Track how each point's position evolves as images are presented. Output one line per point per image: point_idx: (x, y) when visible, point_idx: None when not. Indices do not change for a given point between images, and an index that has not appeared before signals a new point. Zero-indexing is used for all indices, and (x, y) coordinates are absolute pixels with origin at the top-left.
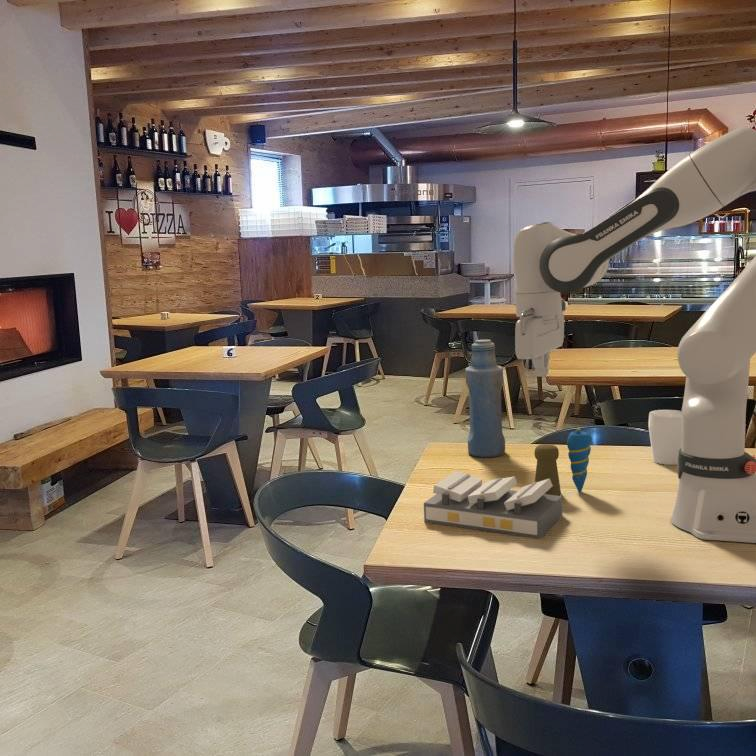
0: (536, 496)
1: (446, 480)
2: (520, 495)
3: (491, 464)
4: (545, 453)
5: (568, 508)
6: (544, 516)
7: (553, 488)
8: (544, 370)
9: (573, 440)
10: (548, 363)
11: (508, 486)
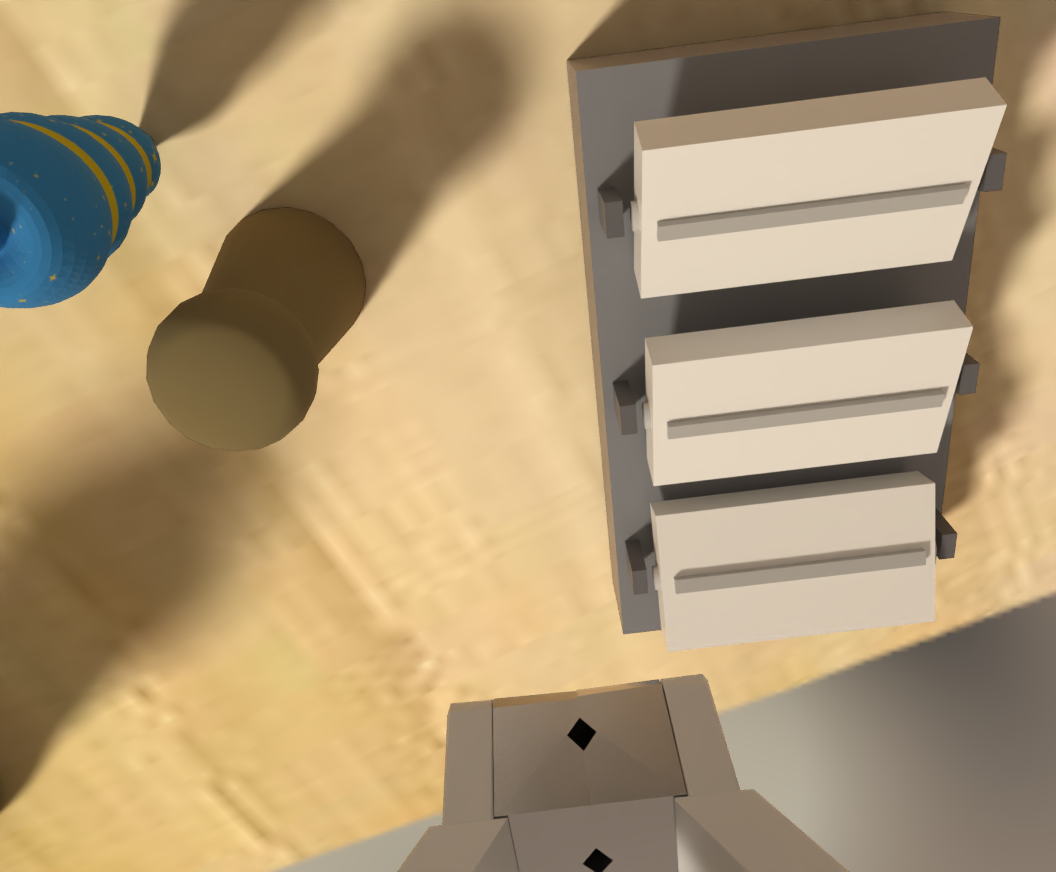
0: (939, 94)
1: (829, 616)
2: (947, 189)
3: (44, 692)
4: (303, 352)
5: (443, 78)
6: (909, 26)
7: (315, 240)
8: (679, 741)
9: (90, 232)
10: (415, 857)
11: (774, 334)
